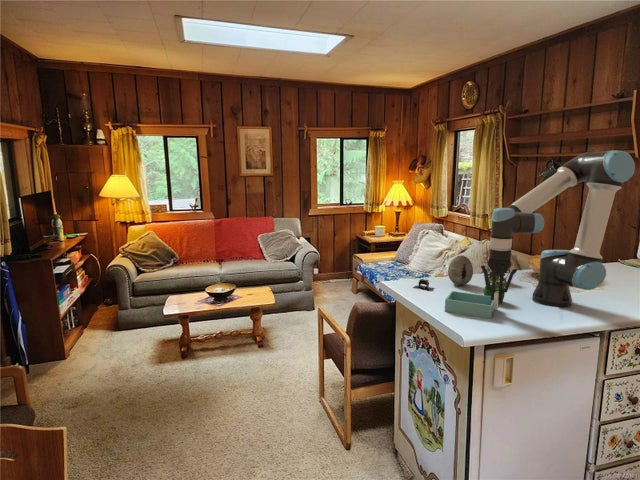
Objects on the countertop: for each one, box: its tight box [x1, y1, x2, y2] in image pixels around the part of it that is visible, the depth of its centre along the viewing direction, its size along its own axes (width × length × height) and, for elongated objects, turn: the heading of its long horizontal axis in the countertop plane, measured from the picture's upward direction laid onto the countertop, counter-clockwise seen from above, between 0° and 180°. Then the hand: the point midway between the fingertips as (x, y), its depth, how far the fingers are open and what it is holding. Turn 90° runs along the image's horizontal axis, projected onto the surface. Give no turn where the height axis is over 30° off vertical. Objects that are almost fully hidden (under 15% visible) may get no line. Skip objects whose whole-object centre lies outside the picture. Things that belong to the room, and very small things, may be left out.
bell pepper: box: [483, 283, 506, 305], centre depth 176 cm, size 8×8×10 cm
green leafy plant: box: [488, 268, 511, 287], centre depth 208 cm, size 11×11×12 cm
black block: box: [412, 278, 436, 292], centre depth 200 cm, size 12×7×5 cm, turn 58°
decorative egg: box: [447, 254, 474, 286], centre depth 204 cm, size 12×12×15 cm
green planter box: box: [444, 290, 496, 320], centre depth 165 cm, size 18×13×5 cm
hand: (495, 308), depth 161 cm, fingers closed
